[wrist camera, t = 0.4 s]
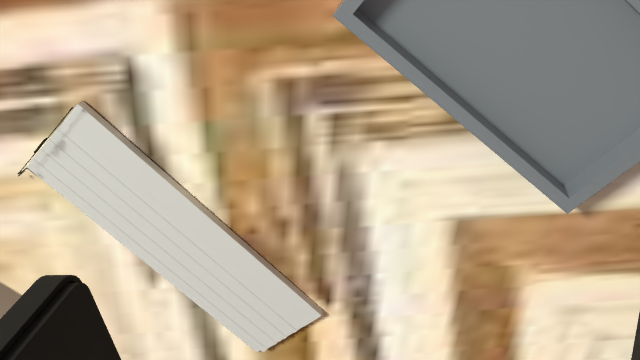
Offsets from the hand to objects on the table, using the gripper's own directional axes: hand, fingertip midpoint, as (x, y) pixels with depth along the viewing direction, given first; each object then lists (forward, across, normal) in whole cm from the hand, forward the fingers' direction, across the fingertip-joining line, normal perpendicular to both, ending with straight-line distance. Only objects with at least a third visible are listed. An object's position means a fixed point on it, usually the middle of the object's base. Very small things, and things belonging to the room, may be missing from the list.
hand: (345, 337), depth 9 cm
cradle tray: (+35, -8, +5) cm, 36 cm away
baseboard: (+36, +25, +23) cm, 49 cm away
